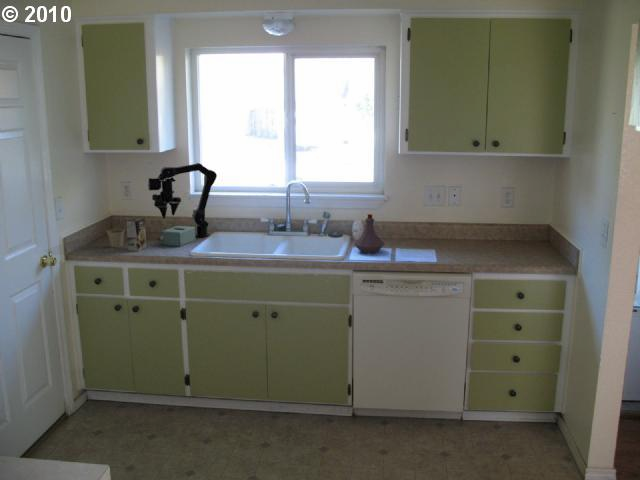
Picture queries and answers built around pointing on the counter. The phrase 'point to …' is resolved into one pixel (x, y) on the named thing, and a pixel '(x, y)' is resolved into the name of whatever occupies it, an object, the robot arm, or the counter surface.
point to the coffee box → (136, 234)
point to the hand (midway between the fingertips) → (168, 216)
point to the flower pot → (116, 237)
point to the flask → (369, 238)
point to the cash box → (178, 236)
